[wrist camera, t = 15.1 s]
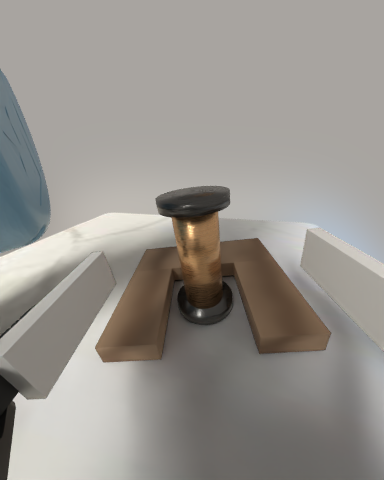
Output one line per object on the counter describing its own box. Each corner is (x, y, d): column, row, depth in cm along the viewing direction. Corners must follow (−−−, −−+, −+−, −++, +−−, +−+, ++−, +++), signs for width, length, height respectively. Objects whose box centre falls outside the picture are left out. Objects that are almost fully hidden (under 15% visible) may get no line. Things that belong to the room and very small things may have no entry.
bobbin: (176, 326, 17) (147, 207, 11) (180, 285, 22) (162, 191, 17) (238, 322, 16) (237, 196, 11) (227, 281, 22) (223, 183, 16)
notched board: (103, 362, 14) (94, 348, 14) (149, 259, 29) (146, 249, 28) (324, 350, 13) (331, 333, 12) (257, 249, 28) (257, 238, 27)
